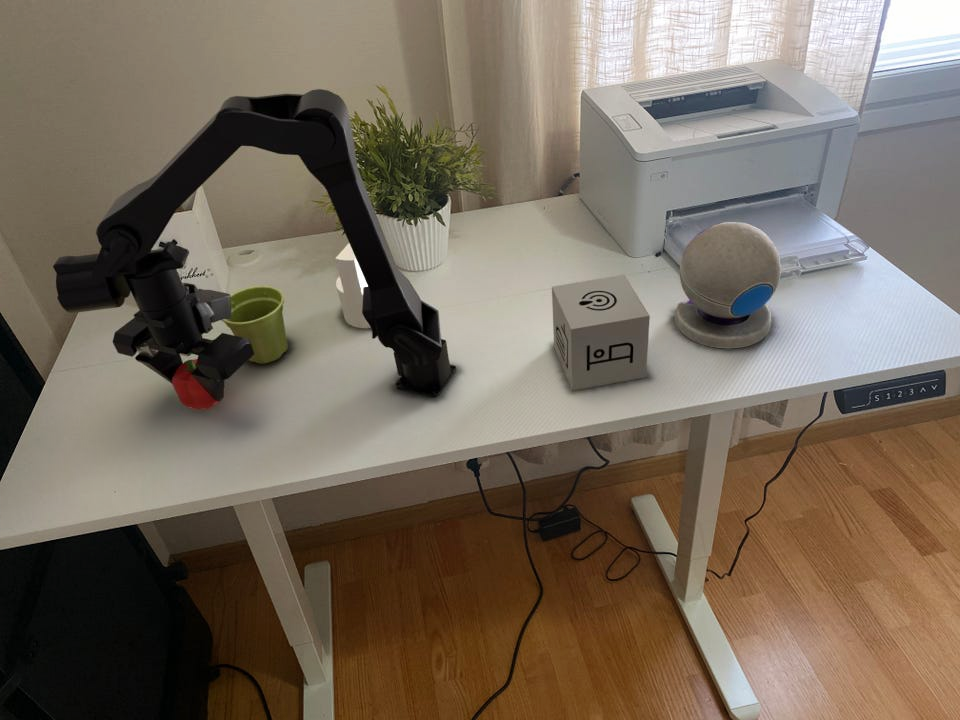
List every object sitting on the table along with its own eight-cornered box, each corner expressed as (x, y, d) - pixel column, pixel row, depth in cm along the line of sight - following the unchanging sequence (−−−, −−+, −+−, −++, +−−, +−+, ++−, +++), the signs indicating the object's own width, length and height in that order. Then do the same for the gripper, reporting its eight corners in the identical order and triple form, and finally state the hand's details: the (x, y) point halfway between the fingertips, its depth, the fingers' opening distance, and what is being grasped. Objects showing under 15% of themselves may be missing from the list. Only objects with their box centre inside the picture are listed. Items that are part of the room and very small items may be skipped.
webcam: (736, 288, 111) (750, 197, 102) (790, 334, 101) (810, 238, 92) (659, 309, 109) (666, 218, 99) (706, 359, 99) (718, 263, 90)
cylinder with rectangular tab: (386, 331, 111) (372, 263, 103) (334, 324, 113) (316, 257, 106) (409, 298, 117) (397, 231, 110) (359, 292, 120) (344, 227, 113)
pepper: (234, 401, 99) (218, 363, 95) (190, 421, 96) (172, 383, 92) (219, 380, 103) (204, 342, 99) (177, 398, 101) (160, 360, 96)
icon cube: (572, 390, 96) (571, 329, 90) (554, 345, 104) (551, 286, 98) (645, 377, 97) (649, 315, 91) (622, 333, 105) (624, 274, 99)
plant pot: (240, 379, 105) (222, 330, 99) (230, 345, 112) (212, 297, 106) (304, 358, 107) (289, 310, 102) (291, 326, 114) (276, 279, 109)
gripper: (263, 275, 91) (294, 372, 101) (153, 254, 98) (192, 346, 108) (203, 326, 84) (243, 425, 93) (88, 299, 91) (136, 394, 101)
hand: (203, 394), depth 99 cm, fingers closed on pepper, 5 cm apart
